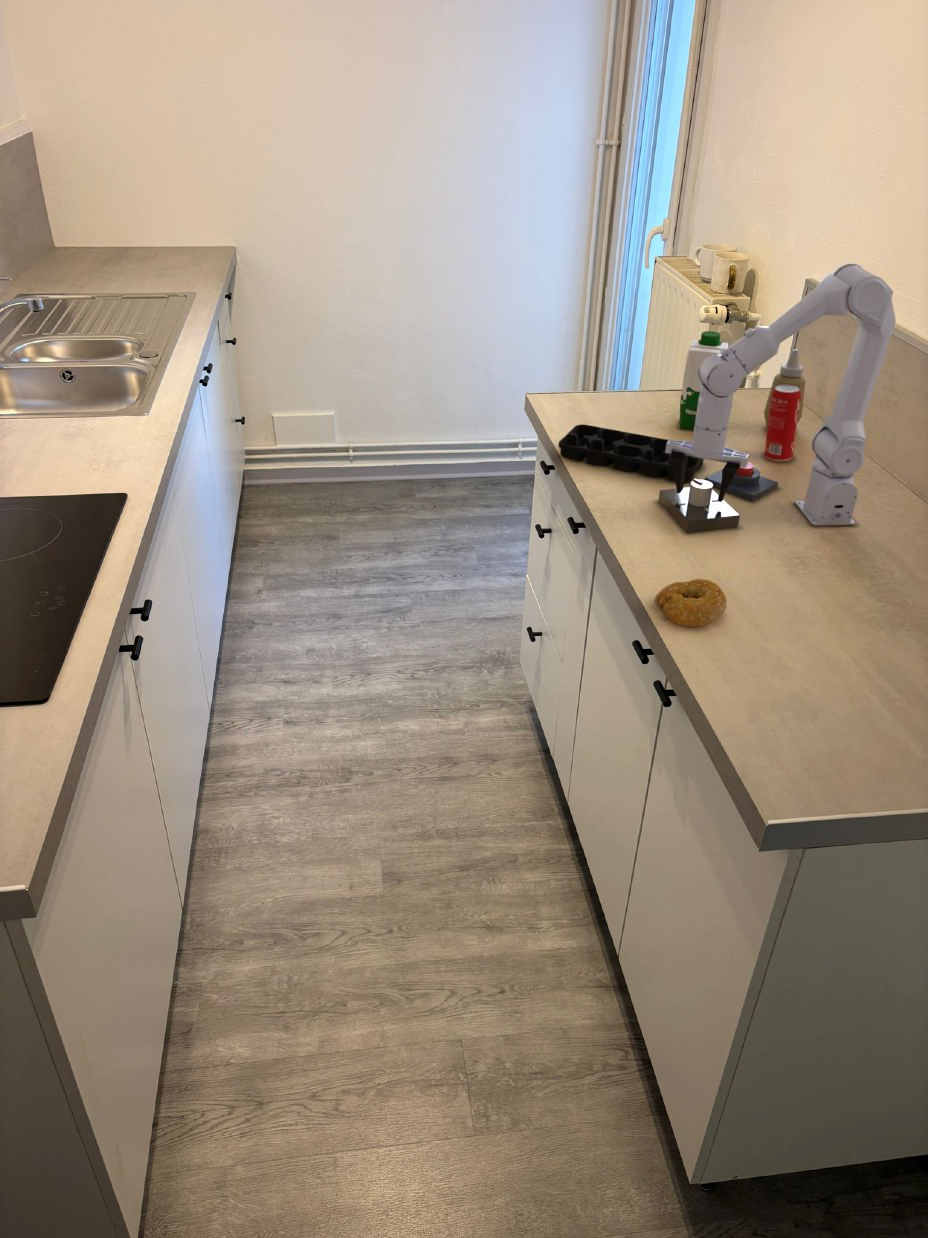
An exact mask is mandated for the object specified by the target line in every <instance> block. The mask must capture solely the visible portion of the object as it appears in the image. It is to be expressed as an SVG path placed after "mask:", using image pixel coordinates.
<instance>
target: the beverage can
mask: <svg viewBox="0 0 928 1238" xmlns="http://www.w3.org/2000/svg"><path fill="white" fill-rule="evenodd" d="M800 401H801V392H800V387H798V386H795V385H790V384H782V385H777V386H775V387H774V390H773V392H772V395H771V404H770V412H769V420H768V428H766V438H765V445H764V456H765V458H766V459H767V460H769V461H773V462H788V461H790V460H791V459H792V458H793V457H794V451H795V444H796V436H797V430H798V424H799V422H798V416H799V409H800ZM797 423H798V424H797Z"/></svg>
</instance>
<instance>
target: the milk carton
mask: <svg viewBox="0 0 928 1238" xmlns="http://www.w3.org/2000/svg"><path fill="white" fill-rule="evenodd" d="M689 346H690V347H689V348H688V351H687V354H686V357H685V360H684V361H685V365H684V371H683V377H682V385H681V393H680V401H679V429H680V430H685V431H693V432H694V427H695V420H696V413H697V407H698V400H699V396H700V389H701V384H702V382H701V381H700V379H699V377H698V368H700V367H701V366H702V363H703V361H704V360H705V359H706V358H708V357H709V356H711V355H714V354H715V355H717V354H721V352H720V351H721V350H722V349H724V348H726V349H727V348H729V342H723V341H721V334H720V333H719V332H716V331H711V330H710V331H709V330H707V331H702V332H701V334H700V339H692V341H691V343H690V345H689Z"/></svg>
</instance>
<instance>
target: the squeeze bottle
mask: <svg viewBox="0 0 928 1238" xmlns="http://www.w3.org/2000/svg"><path fill="white" fill-rule="evenodd" d="M799 354H800V353H799V349H798V348H793V349H792V350H791V353H790V355H789V357H788V360H787V362H786V363H782V364H781V365H780V369H779V373H777V374H775V375H774V377H773V381H772V382H771V383H772V384H771V386H770V391H769V394H768V396H767V400H766V403H765V407H764V410H763V413H764V421H765V427H766V429H767V428H768V420H769V412H770V404H771V395H772V392H773V390H774V387H775V386H777V385H782V384H790V385H795V386H798V387H800V392H801V401H800V409H799V416H798V423H797V425H798V424H799V423H800V420H801V419H802V417H803V408H804V400H805V399H804V398H805V389H806V379H805V377H804V376H803V372H804V367H803V365H801V364H800V359H799V357H800V355H799Z"/></svg>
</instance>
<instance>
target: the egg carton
mask: <svg viewBox="0 0 928 1238" xmlns="http://www.w3.org/2000/svg"><path fill="white" fill-rule="evenodd" d="M669 440H670V439H667V438H660V437H656V436H651V435H644V434H639V433H633V432H627V431H622V430H616V429H611V428H605V427H600V426H595V425H589V424H583V423H582V424H581V423H580V424H576V425H575V426H573V428H572V429H570V430H569V432H567V434H565V435H564V436H563V437H562V438H561V439H560V440H559V442H558V448H559V449H560V452H559V453H560V455H561V457H563V458H564V459H566V460H569V461H574V462H582V461H584V460H585V462H586V464H588V465H590V466H595V467H605V468H607V467H610V466H611V468H613V470H615V471H620V472H625V473H635V472H636V471H637V470H638V469H639V473H640V474H641V475H643V476H646V477H652V478H655V479H657V478H667V480H669V481H671V482H676V481H675V476H674V473H673V470H672V467H671V465H670V463H669V458H670V457H671V454H669V453H665V451H666V444H667V442H668V441H669ZM704 460H705V459H703V458H698V457H693V456H688V460H687V465H686V470H685V479H684V484H687V483H691V482H692V481H693V479H694V476H695V473H696V472H698V471H699V470H701V468H702V467H703V465H704Z"/></svg>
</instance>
